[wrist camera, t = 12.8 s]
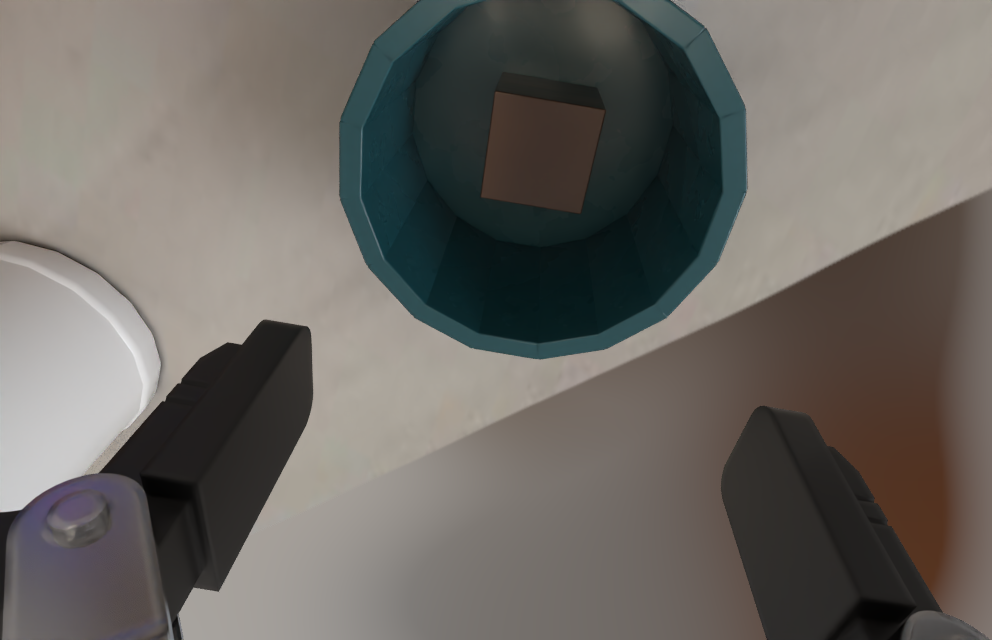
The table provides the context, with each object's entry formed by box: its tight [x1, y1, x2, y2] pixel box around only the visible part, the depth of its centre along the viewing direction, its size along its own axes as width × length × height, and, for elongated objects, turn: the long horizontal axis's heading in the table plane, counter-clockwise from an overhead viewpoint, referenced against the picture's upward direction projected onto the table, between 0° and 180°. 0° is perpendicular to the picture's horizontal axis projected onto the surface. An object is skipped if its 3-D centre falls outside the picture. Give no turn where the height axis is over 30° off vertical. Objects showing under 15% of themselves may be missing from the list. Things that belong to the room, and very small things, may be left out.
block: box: [480, 72, 606, 214], centre depth 25 cm, size 4×4×4 cm
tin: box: [339, 0, 748, 359], centre depth 23 cm, size 14×14×10 cm
